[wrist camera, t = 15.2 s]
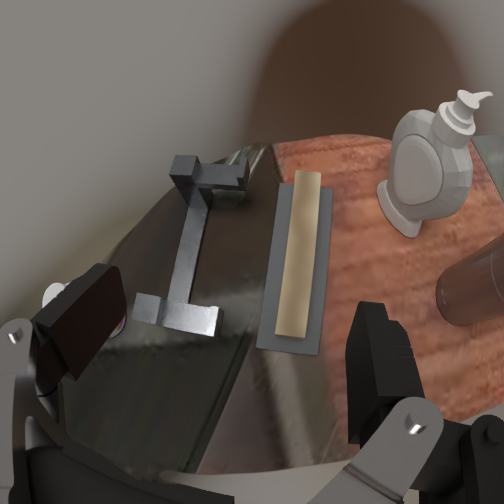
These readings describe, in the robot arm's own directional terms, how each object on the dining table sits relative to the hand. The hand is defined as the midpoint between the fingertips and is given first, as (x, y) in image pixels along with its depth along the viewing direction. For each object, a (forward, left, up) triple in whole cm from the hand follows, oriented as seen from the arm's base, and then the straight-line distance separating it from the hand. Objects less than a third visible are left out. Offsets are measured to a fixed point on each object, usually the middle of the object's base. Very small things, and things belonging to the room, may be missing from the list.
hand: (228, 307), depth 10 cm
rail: (-3, -12, -30) cm, 32 cm away
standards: (+10, -10, -31) cm, 34 cm away
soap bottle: (-18, -22, -31) cm, 42 cm away
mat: (-3, -11, -31) cm, 33 cm away
